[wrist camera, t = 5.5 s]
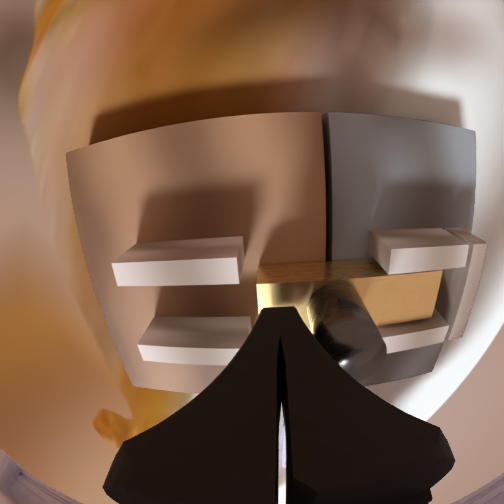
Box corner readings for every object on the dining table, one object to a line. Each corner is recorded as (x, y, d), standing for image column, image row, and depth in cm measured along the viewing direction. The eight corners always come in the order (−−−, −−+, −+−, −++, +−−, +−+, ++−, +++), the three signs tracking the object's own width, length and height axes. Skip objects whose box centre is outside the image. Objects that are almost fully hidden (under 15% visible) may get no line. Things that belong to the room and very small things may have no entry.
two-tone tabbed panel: (142, 367, 18) (120, 410, 14) (87, 151, 12) (33, 157, 8) (421, 353, 16) (445, 395, 12) (453, 131, 11) (506, 132, 7)
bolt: (261, 311, 13) (256, 392, 8) (258, 265, 12) (251, 337, 7) (416, 298, 12) (464, 360, 7) (424, 255, 11) (484, 307, 7)
